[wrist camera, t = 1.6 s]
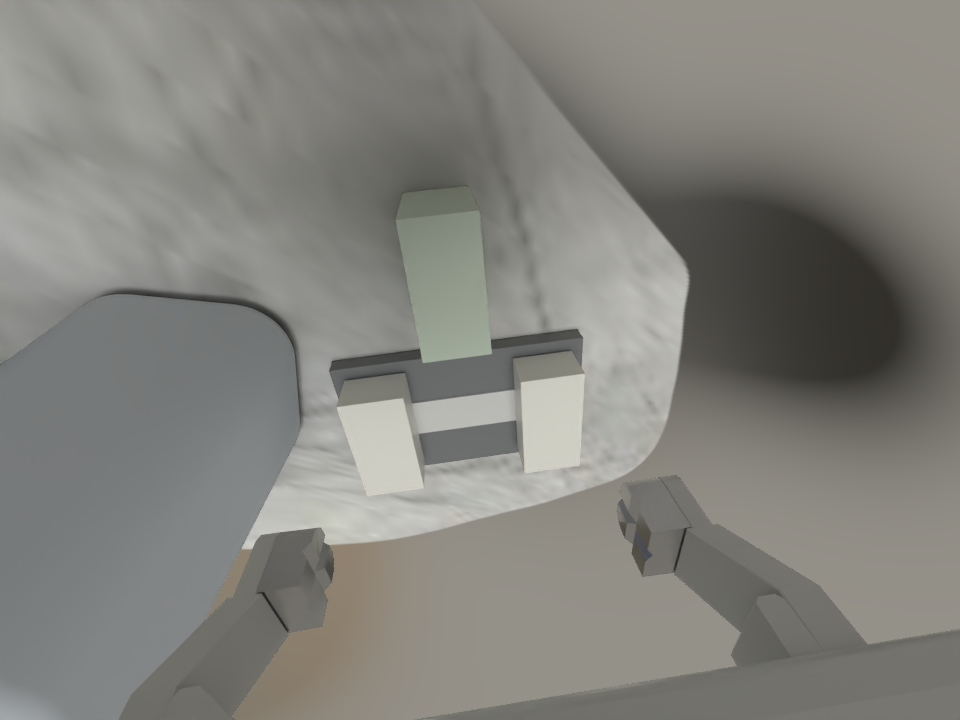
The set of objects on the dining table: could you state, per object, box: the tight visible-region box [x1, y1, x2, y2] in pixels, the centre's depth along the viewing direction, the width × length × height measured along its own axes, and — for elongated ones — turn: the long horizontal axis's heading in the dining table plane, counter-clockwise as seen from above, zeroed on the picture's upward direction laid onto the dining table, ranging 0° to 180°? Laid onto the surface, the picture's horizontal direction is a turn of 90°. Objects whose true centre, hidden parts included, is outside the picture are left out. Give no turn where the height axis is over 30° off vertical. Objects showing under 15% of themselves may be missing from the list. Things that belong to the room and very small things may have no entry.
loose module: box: [395, 186, 492, 363], centre depth 28 cm, size 9×4×8 cm, turn 5°
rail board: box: [329, 330, 585, 496], centre depth 36 cm, size 12×21×5 cm, turn 95°
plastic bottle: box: [0, 294, 300, 720], centre depth 22 cm, size 15×15×28 cm
